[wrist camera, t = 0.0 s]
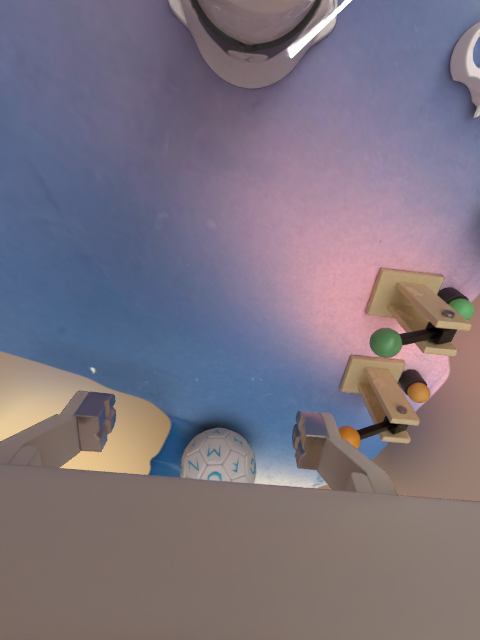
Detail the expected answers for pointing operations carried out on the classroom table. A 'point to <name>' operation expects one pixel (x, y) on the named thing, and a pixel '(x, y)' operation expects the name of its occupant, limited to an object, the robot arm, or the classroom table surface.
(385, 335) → the green switch
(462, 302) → the green lamp
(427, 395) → the amber lamp
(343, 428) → the amber switch
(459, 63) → the knuckle duster
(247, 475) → the puzzle ball
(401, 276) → the wooden lever stand
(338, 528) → the robot arm
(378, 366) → the tan wooden upright frame
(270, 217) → the classroom table surface
